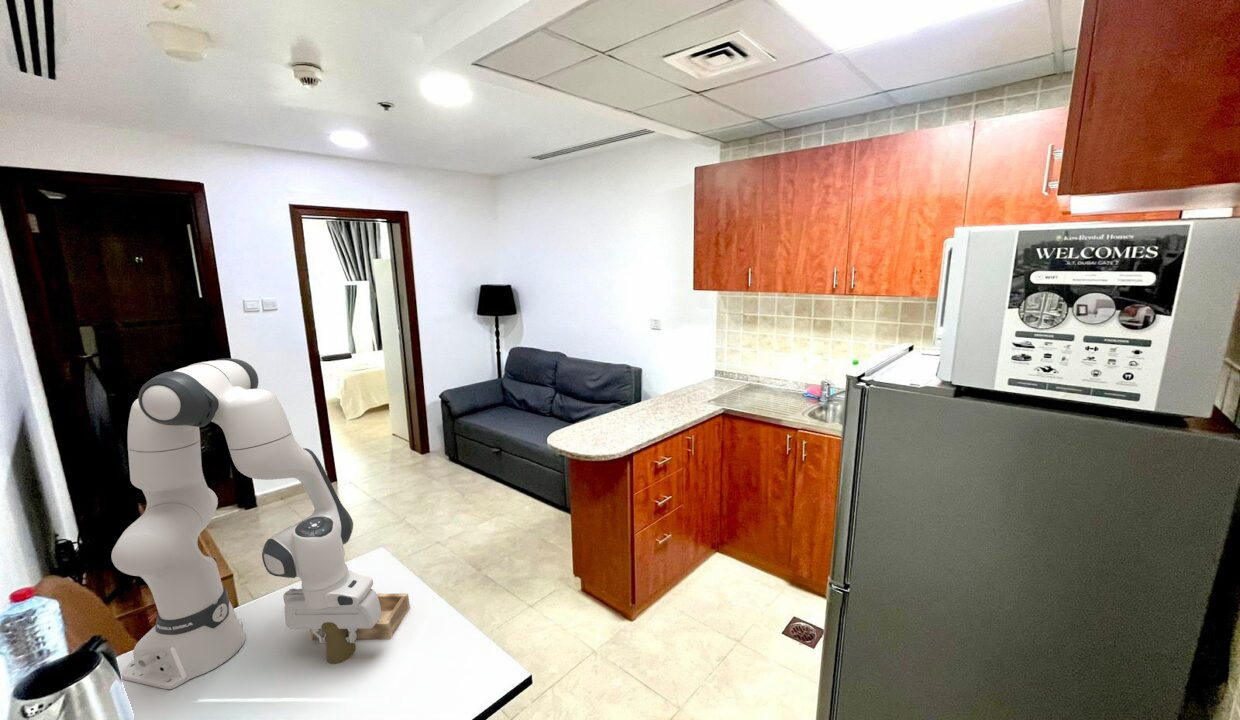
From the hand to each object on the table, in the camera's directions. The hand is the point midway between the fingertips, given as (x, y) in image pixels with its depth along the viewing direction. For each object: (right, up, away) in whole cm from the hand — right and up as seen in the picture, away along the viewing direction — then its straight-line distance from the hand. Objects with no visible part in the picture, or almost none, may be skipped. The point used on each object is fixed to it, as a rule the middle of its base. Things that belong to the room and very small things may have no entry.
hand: (338, 640), depth 108 cm
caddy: (0, -2, +10) cm, 10 cm away
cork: (0, -4, +1) cm, 4 cm away
